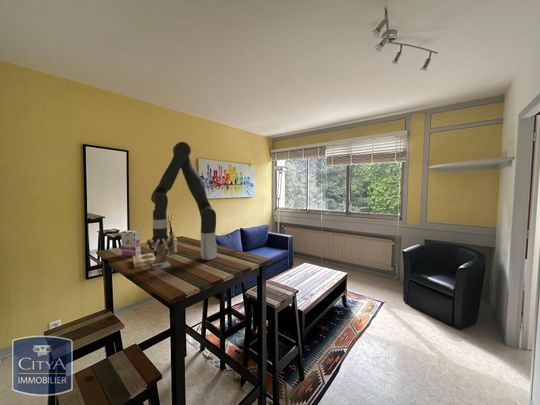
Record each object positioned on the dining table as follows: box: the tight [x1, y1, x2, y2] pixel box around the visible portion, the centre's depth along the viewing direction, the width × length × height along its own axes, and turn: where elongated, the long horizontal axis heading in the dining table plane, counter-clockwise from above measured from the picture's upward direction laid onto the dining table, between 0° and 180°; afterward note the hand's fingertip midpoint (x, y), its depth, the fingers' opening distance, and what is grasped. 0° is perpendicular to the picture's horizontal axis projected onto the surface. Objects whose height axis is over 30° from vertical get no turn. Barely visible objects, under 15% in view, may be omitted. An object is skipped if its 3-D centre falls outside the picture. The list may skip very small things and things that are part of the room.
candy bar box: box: [120, 229, 142, 258], centre depth 147 cm, size 11×5×16 cm, turn 76°
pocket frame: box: [132, 252, 157, 269], centre depth 137 cm, size 14×14×3 cm
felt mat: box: [151, 260, 172, 271], centre depth 130 cm, size 9×9×1 cm
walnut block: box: [156, 244, 167, 264], centre depth 130 cm, size 4×4×11 cm
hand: (160, 255), depth 130 cm, fingers closed on walnut block, 4 cm apart
